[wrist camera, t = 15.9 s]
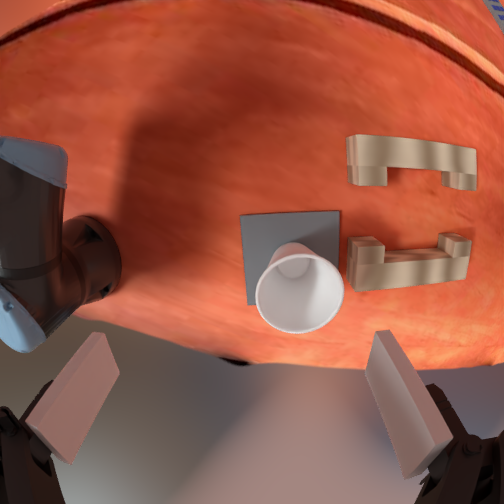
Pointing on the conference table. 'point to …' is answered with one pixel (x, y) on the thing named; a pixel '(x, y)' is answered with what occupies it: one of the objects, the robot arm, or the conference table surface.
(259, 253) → the coaster
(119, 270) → the robot arm
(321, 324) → the cup
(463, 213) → the conference table surface
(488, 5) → the remote control
